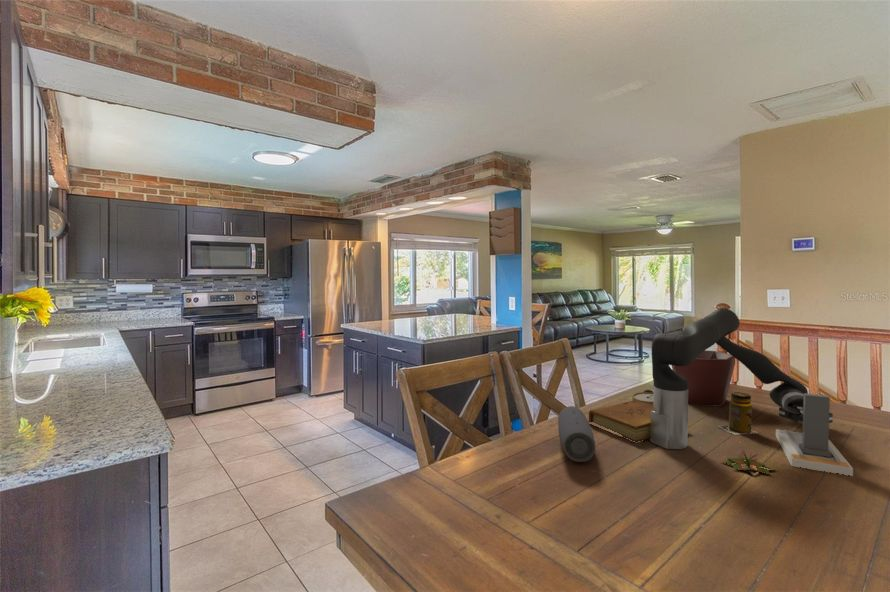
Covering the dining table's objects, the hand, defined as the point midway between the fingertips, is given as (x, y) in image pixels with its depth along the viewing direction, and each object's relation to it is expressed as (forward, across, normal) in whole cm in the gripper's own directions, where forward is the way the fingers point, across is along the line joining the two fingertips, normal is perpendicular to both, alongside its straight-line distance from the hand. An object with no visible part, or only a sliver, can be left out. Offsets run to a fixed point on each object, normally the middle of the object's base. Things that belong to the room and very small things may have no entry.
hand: (812, 424), depth 117 cm
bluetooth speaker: (+26, -59, +9) cm, 65 cm away
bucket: (-46, -25, +9) cm, 53 cm away
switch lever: (+4, 0, +7) cm, 8 cm away
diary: (-2, -46, +10) cm, 47 cm away
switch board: (-1, 0, +9) cm, 9 cm away
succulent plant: (+16, -16, +10) cm, 25 cm away
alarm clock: (-31, -43, +10) cm, 54 cm away
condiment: (-14, -16, +9) cm, 23 cm away
